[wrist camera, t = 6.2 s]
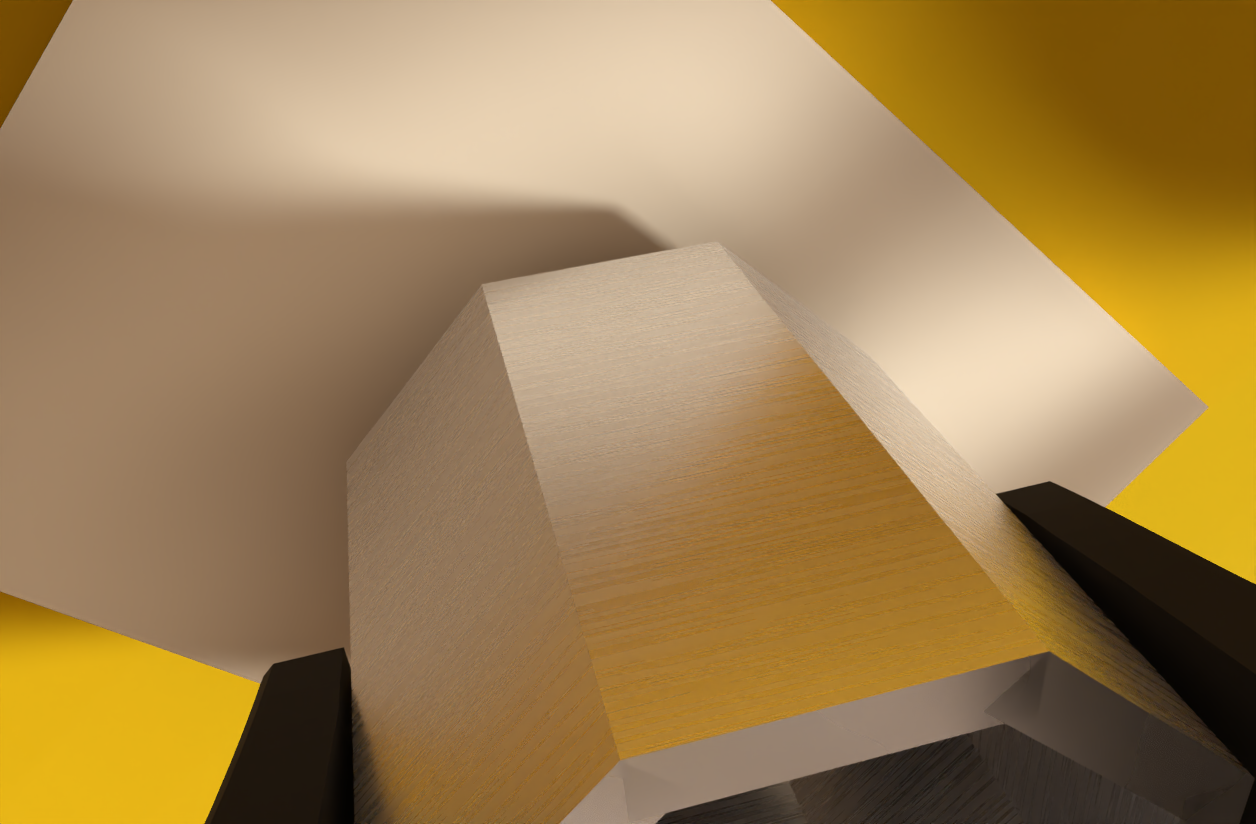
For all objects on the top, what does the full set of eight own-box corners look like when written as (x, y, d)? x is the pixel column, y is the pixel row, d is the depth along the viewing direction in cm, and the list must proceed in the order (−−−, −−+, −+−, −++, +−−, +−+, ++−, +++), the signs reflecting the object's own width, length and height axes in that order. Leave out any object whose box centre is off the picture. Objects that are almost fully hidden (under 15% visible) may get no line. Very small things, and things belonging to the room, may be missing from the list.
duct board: (1161, 373, 16) (1462, 592, 12) (725, 805, 18) (843, 1108, 14) (314, -407, 9) (306, -553, 5) (-180, 460, 12) (-456, 847, 8)
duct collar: (873, 212, 11) (1321, 581, 6) (859, 624, 14) (1148, 1093, 9) (304, 315, 10) (280, 847, 5) (422, 730, 13) (478, 1312, 8)
